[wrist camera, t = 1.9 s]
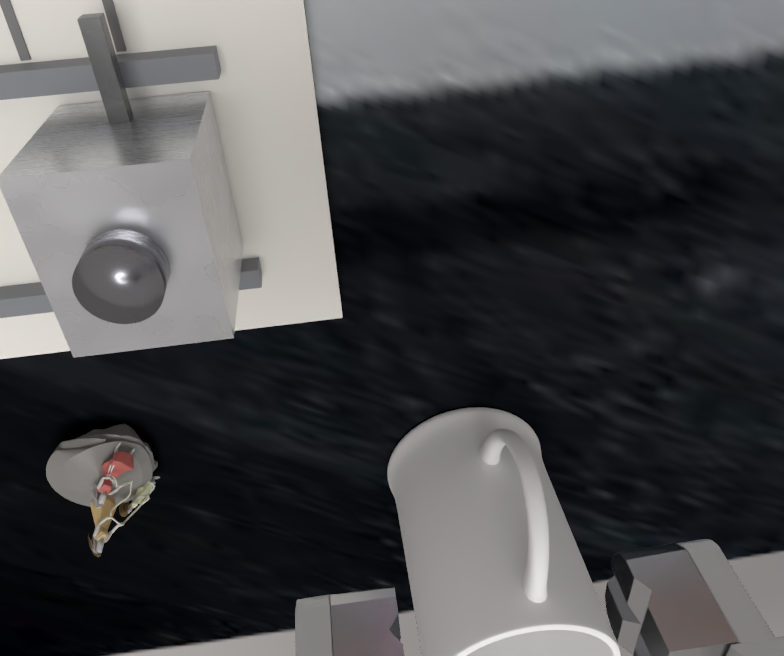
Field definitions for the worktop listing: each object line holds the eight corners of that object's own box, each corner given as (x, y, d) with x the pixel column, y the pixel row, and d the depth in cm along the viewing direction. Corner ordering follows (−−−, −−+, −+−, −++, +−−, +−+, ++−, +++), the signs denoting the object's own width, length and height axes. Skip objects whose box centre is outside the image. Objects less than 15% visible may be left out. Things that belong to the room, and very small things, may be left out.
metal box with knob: (188, -7, 21) (152, 52, 15) (243, 246, 26) (231, 361, 21) (23, 7, 21) (-78, 74, 15) (112, 261, 26) (63, 382, 20)
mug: (415, 350, 32) (471, 569, 23) (580, 361, 34) (697, 569, 24) (374, 512, 39) (404, 735, 29) (514, 515, 41) (585, 726, 31)
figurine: (34, 455, 33) (16, 564, 28) (76, 396, 31) (64, 501, 27) (137, 482, 36) (135, 584, 31) (180, 429, 34) (185, 528, 30)
